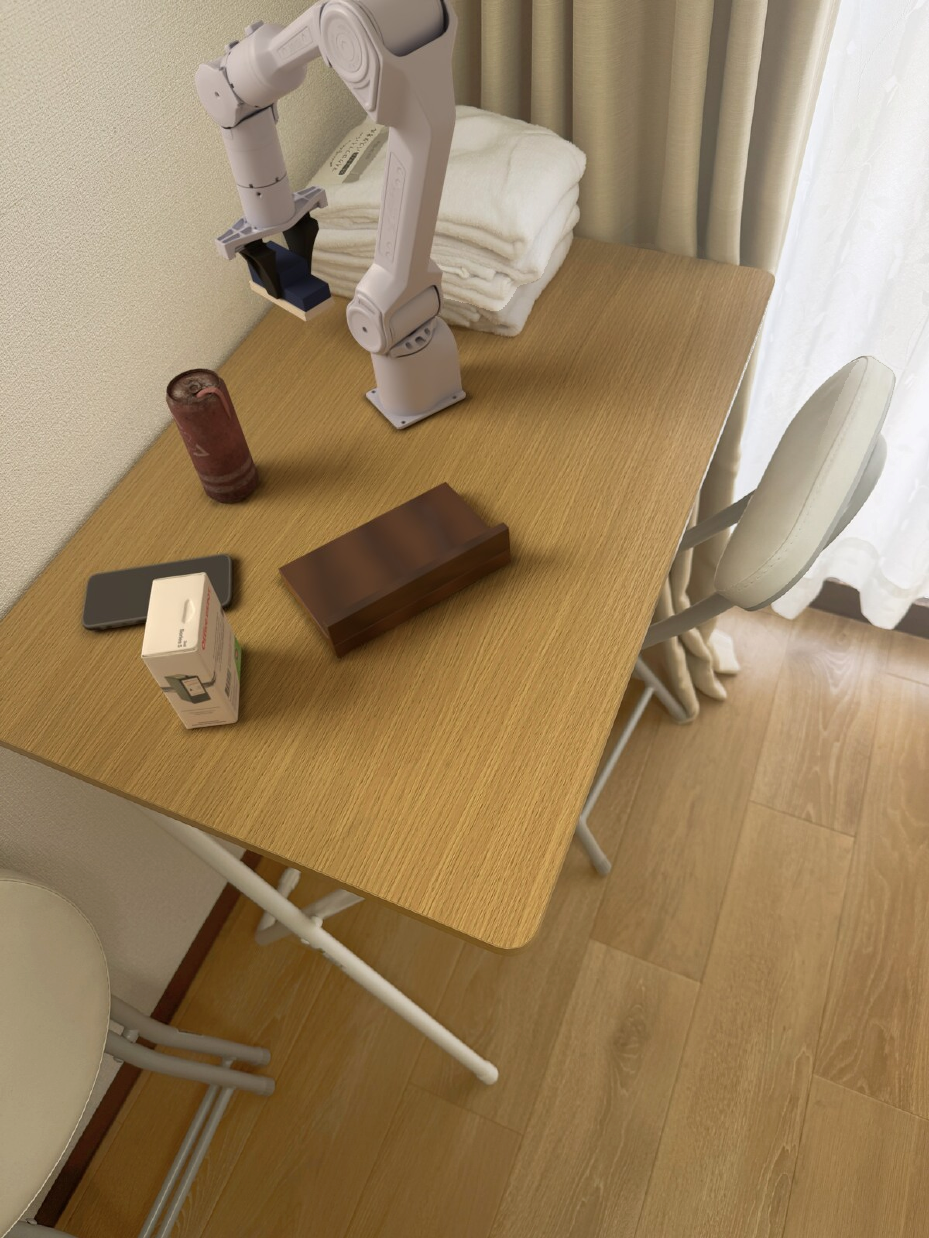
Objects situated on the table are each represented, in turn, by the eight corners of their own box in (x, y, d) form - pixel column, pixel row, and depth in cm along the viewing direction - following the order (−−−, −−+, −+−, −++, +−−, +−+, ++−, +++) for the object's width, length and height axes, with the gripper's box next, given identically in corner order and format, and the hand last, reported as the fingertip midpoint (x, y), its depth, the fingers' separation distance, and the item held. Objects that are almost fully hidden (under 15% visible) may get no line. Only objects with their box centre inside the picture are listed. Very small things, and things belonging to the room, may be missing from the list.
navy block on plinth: (251, 289, 113) (240, 254, 109) (279, 273, 115) (269, 237, 111) (306, 322, 108) (297, 286, 104) (334, 305, 110) (326, 268, 106)
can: (251, 507, 100) (212, 406, 89) (197, 502, 101) (152, 402, 90) (269, 469, 103) (234, 367, 92) (217, 464, 104) (176, 363, 93)
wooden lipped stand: (447, 494, 98) (442, 460, 95) (511, 561, 92) (509, 527, 88) (282, 581, 93) (270, 548, 89) (338, 659, 86) (327, 627, 82)
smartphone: (231, 605, 90) (79, 629, 90) (233, 610, 91) (82, 635, 91) (231, 550, 95) (86, 573, 94) (234, 556, 96) (90, 579, 95)
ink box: (193, 654, 88) (150, 576, 79) (244, 648, 88) (206, 568, 79) (185, 730, 83) (137, 656, 74) (239, 724, 83) (198, 649, 74)
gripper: (289, 138, 104) (315, 249, 115) (185, 192, 99) (222, 302, 109) (328, 156, 101) (351, 268, 112) (223, 212, 95) (257, 324, 106)
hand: (290, 286), depth 110 cm, fingers closed on navy block on plinth, 4 cm apart
